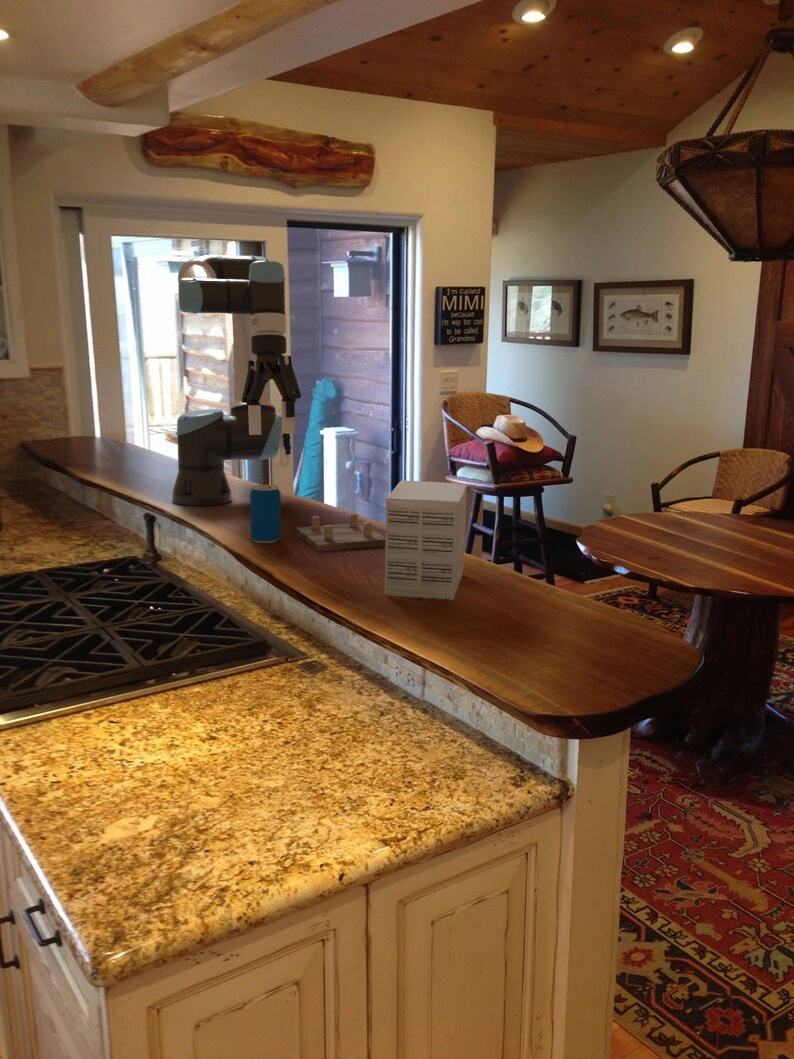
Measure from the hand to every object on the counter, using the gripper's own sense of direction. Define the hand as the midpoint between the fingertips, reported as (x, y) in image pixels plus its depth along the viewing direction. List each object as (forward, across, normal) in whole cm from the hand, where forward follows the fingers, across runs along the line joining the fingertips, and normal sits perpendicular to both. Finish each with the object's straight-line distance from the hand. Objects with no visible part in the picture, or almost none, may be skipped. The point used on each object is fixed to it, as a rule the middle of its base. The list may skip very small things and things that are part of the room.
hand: (271, 434), depth 198 cm
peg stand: (+23, +9, +12) cm, 28 cm away
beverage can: (+23, 0, -2) cm, 24 cm away
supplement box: (+29, +44, +5) cm, 53 cm away
